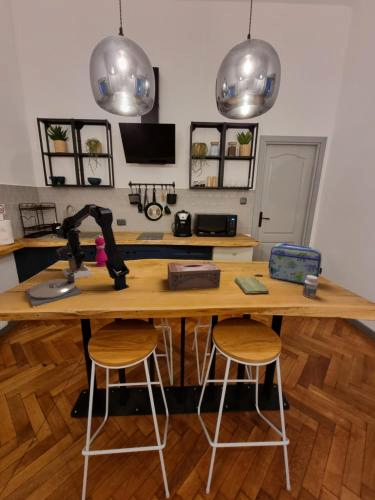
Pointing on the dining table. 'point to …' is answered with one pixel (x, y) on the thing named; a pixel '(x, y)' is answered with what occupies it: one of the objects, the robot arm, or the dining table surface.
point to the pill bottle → (310, 286)
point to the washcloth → (251, 285)
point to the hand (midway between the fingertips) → (76, 267)
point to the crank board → (43, 301)
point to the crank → (53, 288)
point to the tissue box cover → (193, 275)
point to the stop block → (73, 266)
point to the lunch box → (294, 262)
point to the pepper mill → (100, 252)
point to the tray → (78, 272)
